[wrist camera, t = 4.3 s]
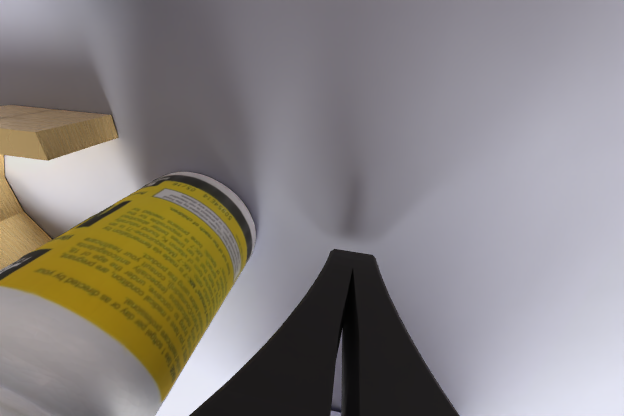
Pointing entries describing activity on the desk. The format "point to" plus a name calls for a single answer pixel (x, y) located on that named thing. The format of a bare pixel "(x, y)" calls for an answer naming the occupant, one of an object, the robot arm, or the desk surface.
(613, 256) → the desk surface
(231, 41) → the desk surface
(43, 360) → the supplement bottle
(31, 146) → the wide wooden arch
